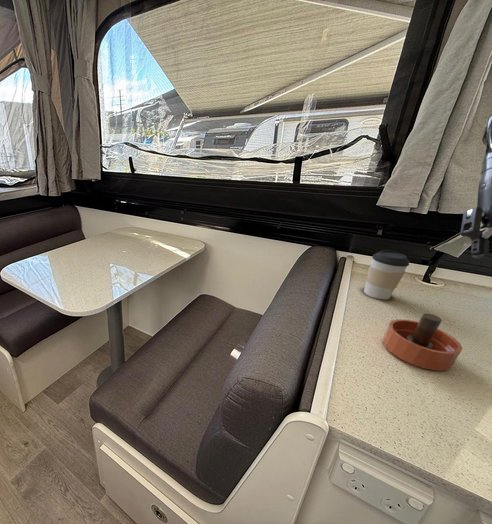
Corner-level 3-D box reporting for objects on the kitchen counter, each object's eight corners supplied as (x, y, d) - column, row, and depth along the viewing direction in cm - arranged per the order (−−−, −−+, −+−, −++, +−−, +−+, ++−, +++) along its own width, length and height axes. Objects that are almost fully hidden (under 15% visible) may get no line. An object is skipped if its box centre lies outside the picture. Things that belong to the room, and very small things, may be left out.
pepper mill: (421, 346, 67) (439, 313, 63) (432, 359, 63) (451, 325, 59) (398, 342, 68) (414, 309, 64) (407, 355, 64) (425, 320, 60)
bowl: (431, 342, 69) (441, 325, 67) (464, 378, 59) (477, 359, 56) (373, 332, 73) (380, 315, 71) (394, 364, 63) (403, 346, 60)
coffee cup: (399, 303, 86) (418, 260, 80) (365, 298, 89) (381, 257, 83) (386, 289, 94) (403, 249, 88) (356, 285, 96) (370, 247, 90)
